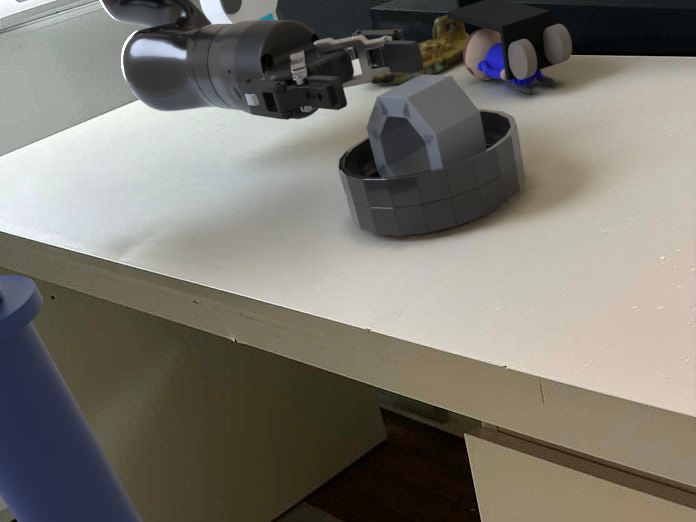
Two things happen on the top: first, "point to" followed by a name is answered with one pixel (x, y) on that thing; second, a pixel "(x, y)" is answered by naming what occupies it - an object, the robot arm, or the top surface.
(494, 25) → the figurine character
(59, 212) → the top surface
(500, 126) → the bowl
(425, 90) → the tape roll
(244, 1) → the panda figurine
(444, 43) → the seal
